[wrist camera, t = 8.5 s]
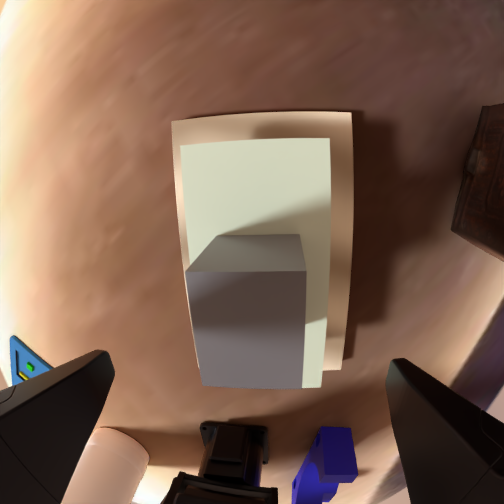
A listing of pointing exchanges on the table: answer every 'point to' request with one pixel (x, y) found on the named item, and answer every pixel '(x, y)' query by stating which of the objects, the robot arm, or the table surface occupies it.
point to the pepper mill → (484, 186)
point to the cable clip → (325, 466)
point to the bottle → (107, 470)
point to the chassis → (341, 192)
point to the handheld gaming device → (24, 362)
